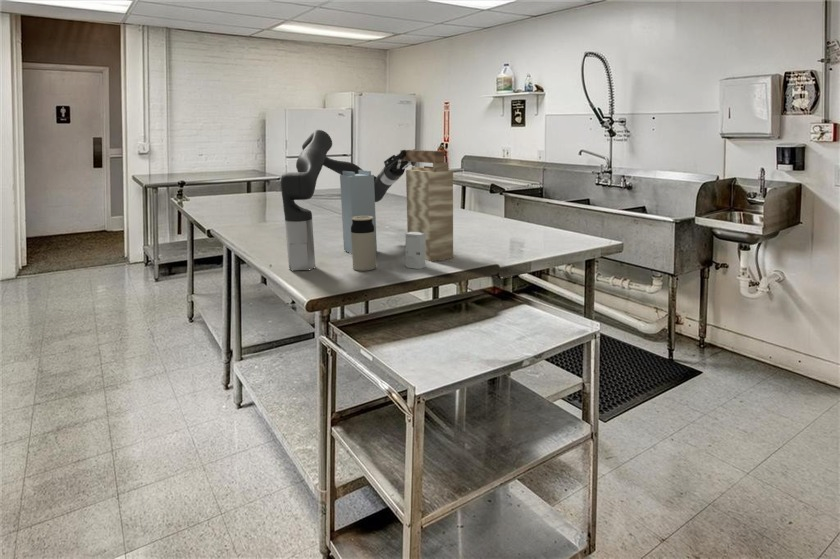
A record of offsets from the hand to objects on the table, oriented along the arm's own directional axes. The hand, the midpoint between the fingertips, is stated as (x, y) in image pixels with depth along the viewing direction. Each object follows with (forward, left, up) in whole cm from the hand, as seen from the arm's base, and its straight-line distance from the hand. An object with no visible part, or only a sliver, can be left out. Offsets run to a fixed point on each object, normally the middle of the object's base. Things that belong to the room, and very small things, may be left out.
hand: (410, 151), depth 213 cm
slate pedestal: (0, +21, -38) cm, 43 cm away
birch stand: (-11, -6, -38) cm, 40 cm away
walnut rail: (-7, -4, -3) cm, 9 cm away
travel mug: (-28, +18, -38) cm, 51 cm away
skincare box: (-28, 0, -38) cm, 48 cm away
